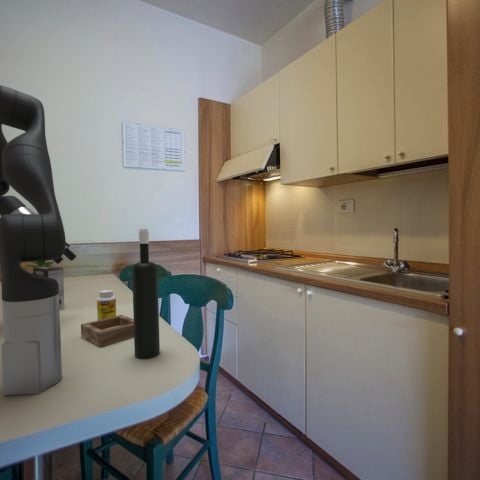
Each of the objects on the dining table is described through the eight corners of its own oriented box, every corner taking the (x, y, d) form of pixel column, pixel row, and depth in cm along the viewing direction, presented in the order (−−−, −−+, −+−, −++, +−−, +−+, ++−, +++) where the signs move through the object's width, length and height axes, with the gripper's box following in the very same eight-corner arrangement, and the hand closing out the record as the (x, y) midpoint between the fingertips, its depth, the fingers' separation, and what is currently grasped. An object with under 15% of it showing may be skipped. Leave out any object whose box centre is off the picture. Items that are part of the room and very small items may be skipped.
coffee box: (34, 310, 116) (32, 267, 115) (51, 306, 122) (49, 265, 121) (48, 313, 112) (46, 269, 111) (65, 308, 118) (63, 266, 117)
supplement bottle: (99, 326, 96) (98, 293, 95) (96, 321, 101) (95, 290, 100) (118, 322, 99) (117, 291, 99) (114, 318, 104) (113, 288, 103)
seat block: (142, 334, 88) (142, 322, 88) (100, 347, 79) (100, 333, 79) (121, 326, 96) (121, 314, 95) (81, 336, 87) (80, 324, 86)
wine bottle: (150, 347, 78) (147, 229, 77) (164, 352, 74) (161, 228, 73) (129, 354, 74) (126, 229, 72) (143, 361, 70) (139, 229, 69)
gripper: (22, 215, 90) (64, 253, 91) (49, 216, 104) (85, 249, 105) (4, 233, 90) (47, 272, 91) (34, 232, 104) (70, 265, 105)
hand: (67, 260), depth 98 cm, fingers open, 8 cm apart
